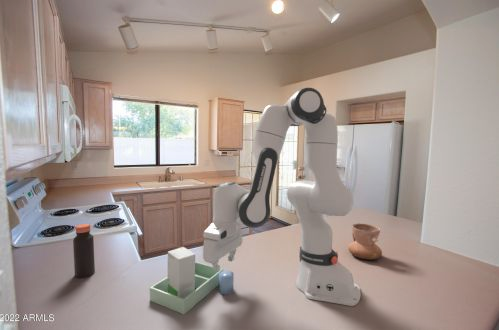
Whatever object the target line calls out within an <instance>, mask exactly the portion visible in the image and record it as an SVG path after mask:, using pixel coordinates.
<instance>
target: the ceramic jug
mask: <svg viewBox="0 0 499 330" xmlns="http://www.w3.org/2000/svg"><path fill="white" fill-rule="evenodd" d="M351 228H352V229H351V231H352V240H353V241H352V242H350V243H349V245H348V252H349V253H351V255H352V256H354V257H356V258H359V259H362V260H366V261H367V260H368V261H370V260H371V261H372V260H378V259H379V258H381V257H382V255H383V251H382V249H381V248H380V246H379V245H377V244H376V243H377V242H379V240H378V239H379V236H380V233H381V229H380V227H378V226H374V225H371V224H367V223H360V222H359V223H357V222H356V223H353V224H352V225H351Z"/></svg>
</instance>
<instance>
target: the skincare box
mask: <svg viewBox="0 0 499 330" xmlns="http://www.w3.org/2000/svg"><path fill="white" fill-rule="evenodd" d="M195 261H196V254H195V253H194V252H192V251H191V250H190V249H187V247H184V246H181V247H178V248H175V249H172V250H169V251H167V277H168V281H167V291H166V292H167V293H169V294H172V295H175V296H177V297H180V298H183V299H184V298H186V297H187V296H188V295H189V294H191V293H192V292H193V291H194V290H196V289H195Z"/></svg>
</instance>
